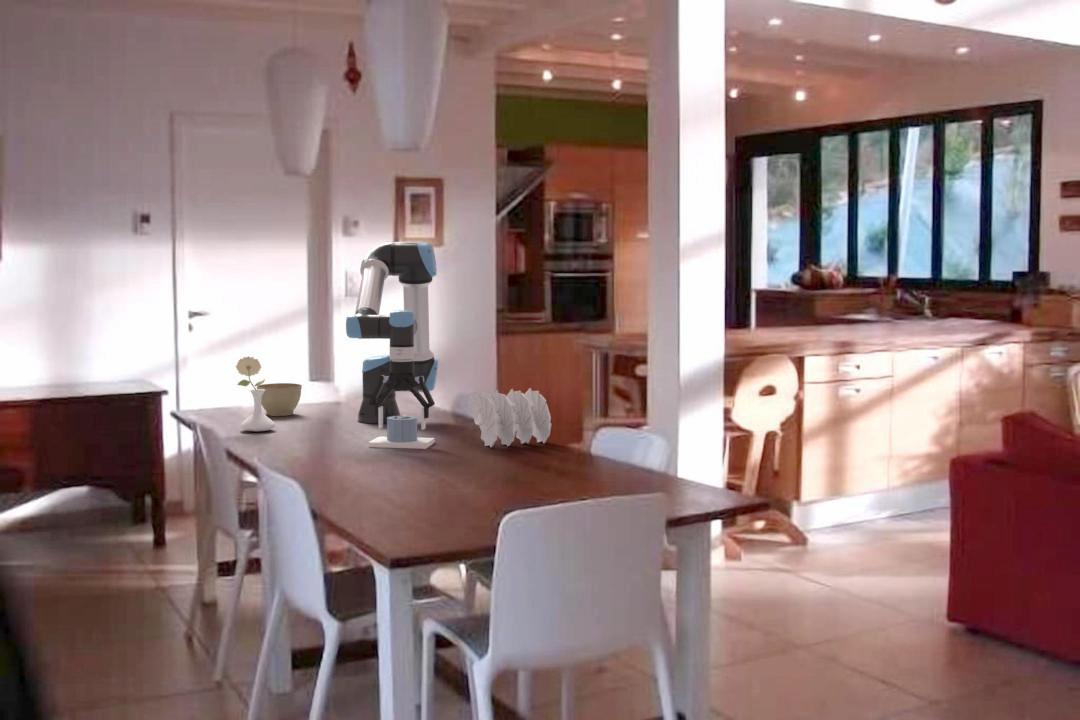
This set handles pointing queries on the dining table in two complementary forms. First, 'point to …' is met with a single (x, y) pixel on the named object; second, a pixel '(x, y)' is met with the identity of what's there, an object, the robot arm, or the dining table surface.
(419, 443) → the post stand
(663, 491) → the dining table surface
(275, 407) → the planter bowl
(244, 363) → the flower in vase
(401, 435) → the hub ring
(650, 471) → the dining table surface
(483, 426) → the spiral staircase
